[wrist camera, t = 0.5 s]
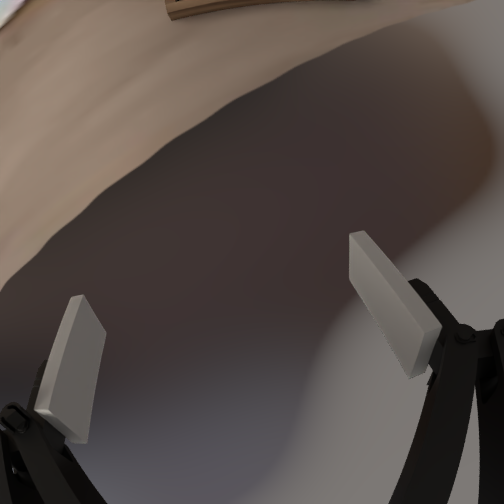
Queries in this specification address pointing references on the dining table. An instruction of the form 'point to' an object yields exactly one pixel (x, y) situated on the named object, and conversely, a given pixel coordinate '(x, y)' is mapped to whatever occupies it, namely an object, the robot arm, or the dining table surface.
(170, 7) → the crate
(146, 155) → the dining table surface
